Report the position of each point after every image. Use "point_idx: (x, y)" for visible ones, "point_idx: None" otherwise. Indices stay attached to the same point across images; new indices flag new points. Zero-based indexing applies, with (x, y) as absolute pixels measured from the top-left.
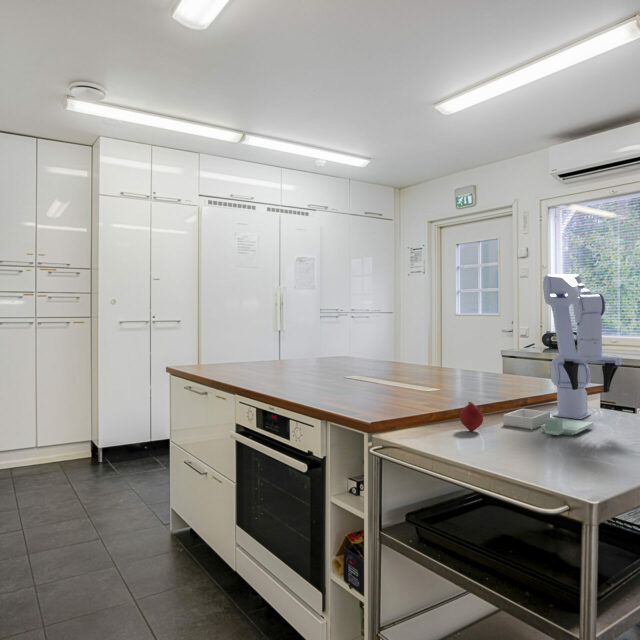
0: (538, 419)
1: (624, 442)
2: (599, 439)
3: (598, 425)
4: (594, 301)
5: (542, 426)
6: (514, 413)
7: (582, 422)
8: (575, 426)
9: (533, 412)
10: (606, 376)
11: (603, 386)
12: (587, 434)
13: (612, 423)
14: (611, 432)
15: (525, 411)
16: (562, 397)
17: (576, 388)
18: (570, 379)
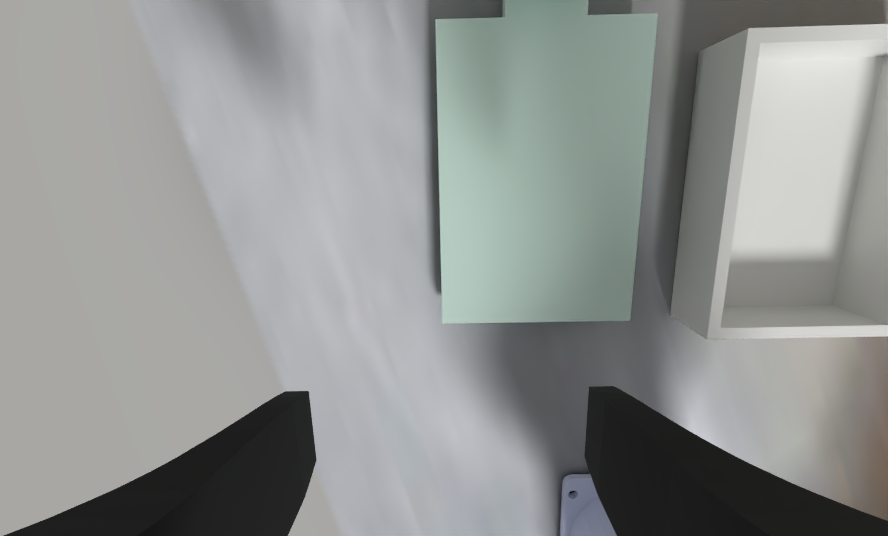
0: (717, 149)
1: (215, 101)
2: (328, 79)
3: (451, 405)
4: None
5: (644, 15)
6: None
7: (486, 284)
8: (478, 144)
9: (802, 321)
10: (139, 494)
11: (279, 415)
12: (417, 158)
13: (417, 487)
14: (347, 289)
15: (857, 320)
16: None
17: (590, 431)
18: (694, 436)
